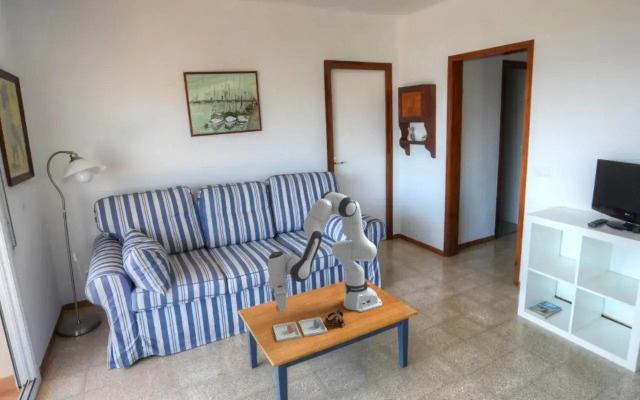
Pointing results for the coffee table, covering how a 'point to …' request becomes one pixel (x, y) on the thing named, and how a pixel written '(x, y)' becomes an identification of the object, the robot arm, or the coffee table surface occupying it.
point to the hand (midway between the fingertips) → (279, 309)
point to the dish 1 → (285, 332)
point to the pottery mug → (335, 318)
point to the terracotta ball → (291, 328)
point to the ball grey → (317, 323)
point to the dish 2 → (312, 327)
